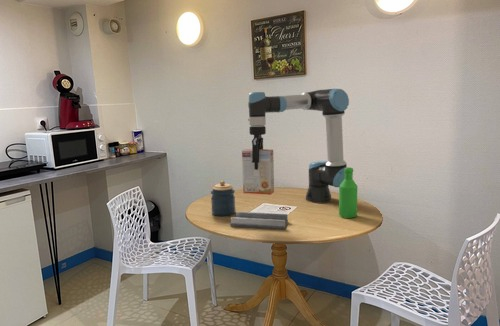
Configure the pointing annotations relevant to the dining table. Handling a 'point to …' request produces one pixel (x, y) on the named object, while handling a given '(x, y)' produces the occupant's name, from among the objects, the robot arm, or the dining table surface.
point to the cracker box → (266, 178)
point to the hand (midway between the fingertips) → (258, 174)
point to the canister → (223, 199)
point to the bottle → (348, 195)
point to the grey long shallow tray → (260, 220)
